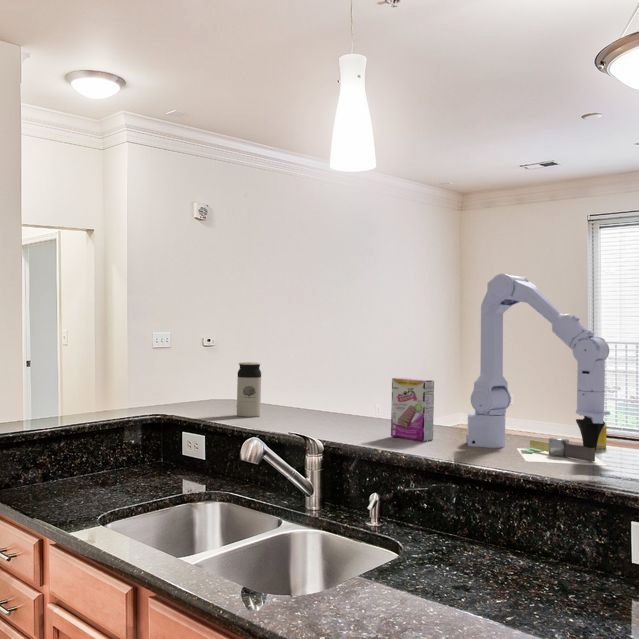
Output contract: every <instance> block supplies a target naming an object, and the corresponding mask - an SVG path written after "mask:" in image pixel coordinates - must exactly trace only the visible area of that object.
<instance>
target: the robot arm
mask: <svg viewBox="0 0 639 639" xmlns="http://www.w3.org/2000/svg"><path fill="white" fill-rule="evenodd" d="M519 303H526V304H528V305H529V306H530V307H532V308H533V309H534V310H535V311H536V312H537V313H539V315H541V316H542V317H543V318H544V319H546V320H547V321H548V322H550V323H551V331H552V333H554V335H555V336H556V337H558V338H559V339H560V340H561V341H562V342H563V343H564V344H565V345H566V346H567V347H568V348H569V349H570V350H571V351H572V355H573V357H574V359H575V360H576V362H577V369H576V370H577V371H576V373H577V376H576V378H577V379H576V381H577V382H576V386H577V387H576V409H575V414H576V415H579V416H581V417H582V416H583V418H579V419H578V418H577V419H575V422H576V423H577V424H576V425H577V426H578V429H579V431H580V434H581V438H582V445H583V446H589V447H594V448H595V452H596V450H597V449H596V448H597V442H598V438H599V435H600V432H601V430H602V428H603V427H604V425H605V423H606V422H605V420H604V419H603V416H604V417H605V416H609V415H611V411H609V410H605V393H606V392H605V391H606V386H605V385H606V384H605V383H606V370H605V369H606V368H605V367H606V366H605V365H606V360H607V358H608V357H609V354H610V347H609V344H608V342H606V339H604V338H603V337H600V336H595V334H596V333H595V332H594V331H593V330H589V329H588V328H587V327H586V326H584V324H582V323H581V322H580V320H581V318H580V317H579V316H578V315H575V314H574V315H572V314H571V313H562V311H560V310H559V309H558V308H557V306H555V305H554V304H553V303H552V302H551V301H550V300H549V298H547V296H546V295H545V294H543V293H542V292H541V290H540V289H538V287H537V286H536V285H535V284H534V283H532V282H530V281H529V279H527V277H525V276H520V275H518V276H517V275H509V274H507V273H498V274H497V275H495V276H494V277H493V278H491V280H489V281H488V282H487V290H486V293H485V295H484V297H483V300H482V301H481V304H480V375H479V376H478V377H477V378H476V379H475V381H474V383H473V390H472V392H471V395H470V404H471V407H472V408H473V409H474V412H468V414H467V426H466V428H467V432H466V433H467V434H466V437H465V438H466V439H465V441H466V442H465V443H467V445H468V447H479V448H480V447H481V448H493V449H498V448H500V449H501V448H504V447H506V414H507V409H508V408H509V407H510V405H511V401H512V396H511V393H510V391H509V387H508V381H507V379H506V378H505V377H504V375H503V374H504V372H503V371H504V369H503V368H504V366H503V365H504V359H503V358H504V313H505V312H507V311H508V310H509V309H510V308H511V307H512V306H514V305H516V304H519Z"/></svg>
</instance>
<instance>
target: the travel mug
mask: <svg viewBox="0 0 639 639" xmlns="http://www.w3.org/2000/svg"><path fill="white" fill-rule="evenodd" d="M238 365H239V369H238V371H237V381H236V383H237V387H236V388H237V390H236V416H238V417H241V418H257V417H260V415H261V406H262V405H261V403H262V402H261V398H262V372H261V369H260V366H261V362H253V361H252V362H249V361H248V362H247V361H246V362H245V361H244V362H243V361H240V362H238Z"/></svg>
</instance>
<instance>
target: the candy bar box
mask: <svg viewBox="0 0 639 639" xmlns="http://www.w3.org/2000/svg"><path fill="white" fill-rule="evenodd" d="M434 397H435V380H433V379H424V378H423V379H422V378H412V377H393V378H391V410H390V411H391V414H390V415H391V417H390V423H391V424H390V436H391V437H393V438H400V439H404V440H405V439H406V440H411V439H412V440H411V441H417V440H419V442H428V441H427V440H429V441H432V440H433V439H434V410H435V409H434V407H435V406H434V405H435V404H434V403H435V402H434V401H435V398H434Z"/></svg>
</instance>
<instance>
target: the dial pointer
mask: <svg viewBox="0 0 639 639" xmlns="http://www.w3.org/2000/svg"><path fill="white" fill-rule="evenodd" d="M531 448H534V449H539V450H543V451H548V452H549V455H553V456H565V457H569V458H574V459H579V460H584V461H589V462H594V461H595V456H596V451H595V448H594V447H589V446H583V444H577V443H572V442H570V439H569V438H565V437H548V442H547V441H542V440H536V439H529V449H531Z"/></svg>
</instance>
